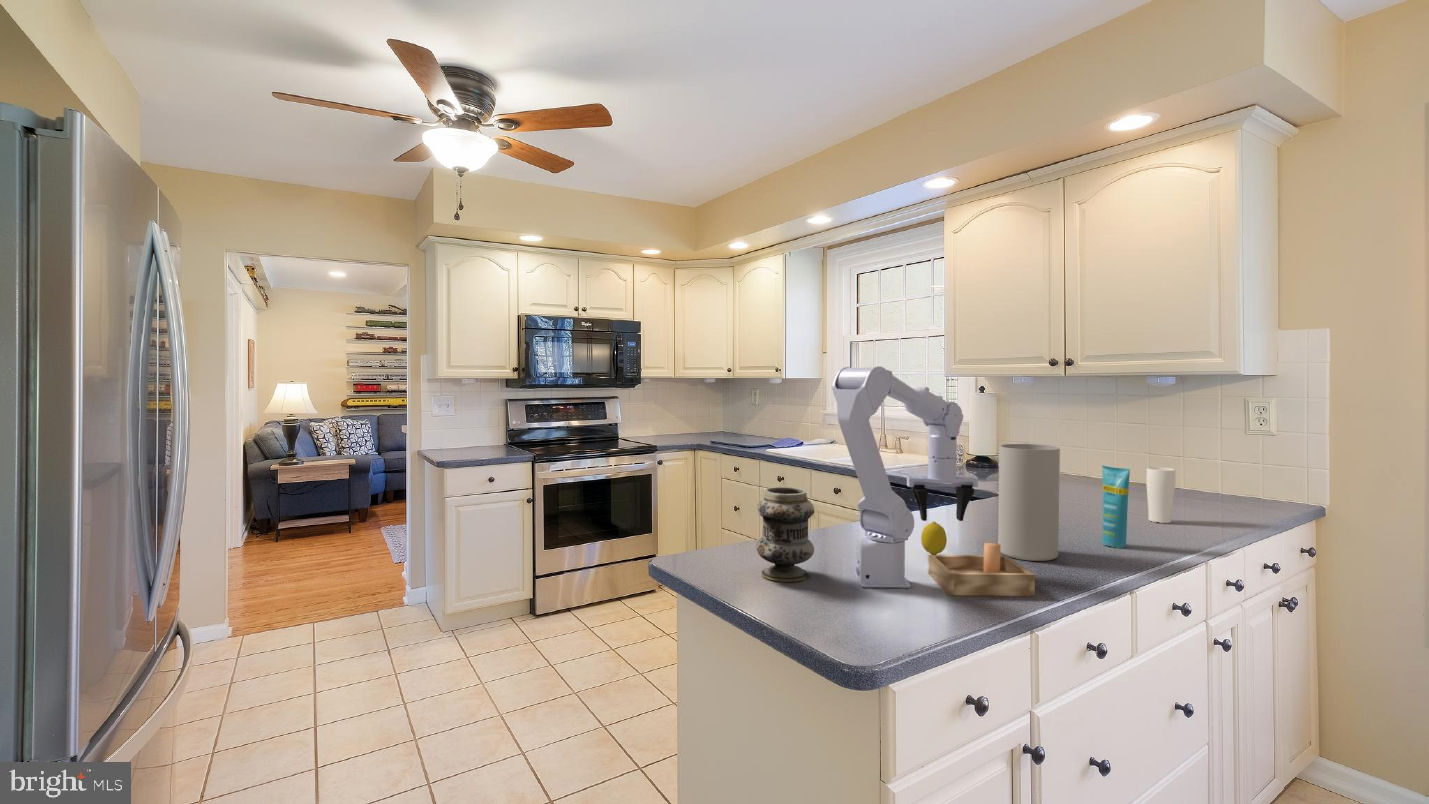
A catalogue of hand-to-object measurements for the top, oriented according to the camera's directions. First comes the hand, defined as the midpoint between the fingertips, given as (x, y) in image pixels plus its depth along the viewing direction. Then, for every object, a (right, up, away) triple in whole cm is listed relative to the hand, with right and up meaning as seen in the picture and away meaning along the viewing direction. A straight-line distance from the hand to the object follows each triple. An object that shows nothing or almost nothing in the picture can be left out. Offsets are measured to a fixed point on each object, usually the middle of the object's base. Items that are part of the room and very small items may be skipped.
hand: (941, 519), depth 139 cm
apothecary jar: (-34, -11, -4) cm, 36 cm away
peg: (+6, -11, -11) cm, 16 cm away
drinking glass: (+76, -8, +42) cm, 87 cm away
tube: (+48, -10, +17) cm, 52 cm away
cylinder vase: (+23, -10, +10) cm, 28 cm away
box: (+4, -11, -11) cm, 16 cm away
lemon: (+1, -10, +9) cm, 14 cm away
